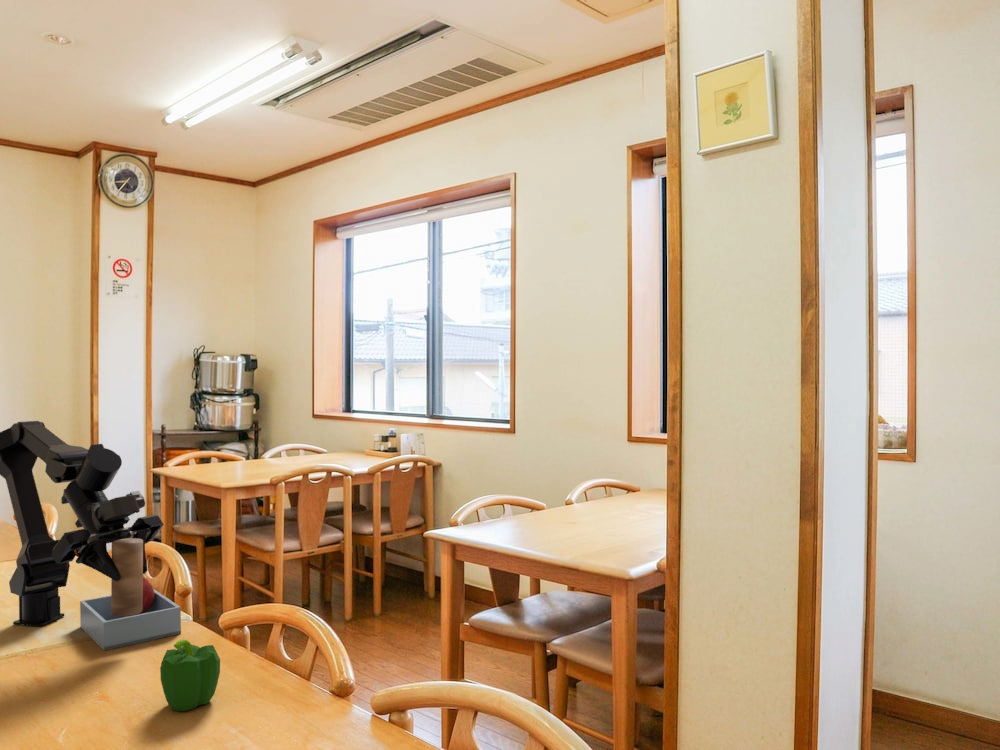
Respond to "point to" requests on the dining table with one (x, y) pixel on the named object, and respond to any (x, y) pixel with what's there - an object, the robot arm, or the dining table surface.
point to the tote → (129, 622)
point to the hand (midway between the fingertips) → (132, 575)
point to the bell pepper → (189, 675)
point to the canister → (127, 577)
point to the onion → (147, 595)
